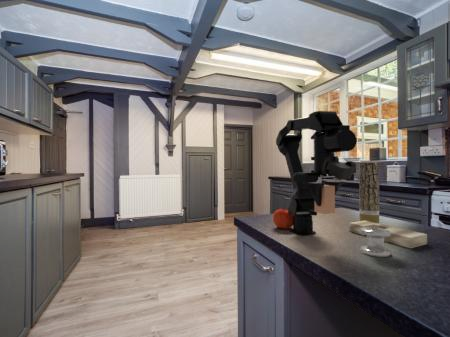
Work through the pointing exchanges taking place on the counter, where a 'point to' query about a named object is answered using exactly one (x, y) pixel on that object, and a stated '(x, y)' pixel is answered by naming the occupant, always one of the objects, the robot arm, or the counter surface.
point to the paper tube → (369, 191)
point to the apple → (282, 219)
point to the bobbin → (375, 242)
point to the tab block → (327, 200)
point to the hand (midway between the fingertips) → (324, 205)
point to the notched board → (393, 234)
